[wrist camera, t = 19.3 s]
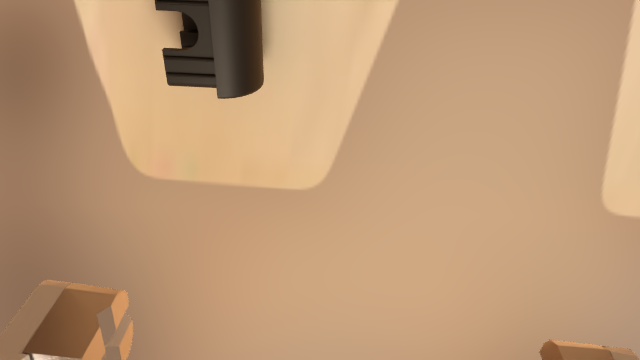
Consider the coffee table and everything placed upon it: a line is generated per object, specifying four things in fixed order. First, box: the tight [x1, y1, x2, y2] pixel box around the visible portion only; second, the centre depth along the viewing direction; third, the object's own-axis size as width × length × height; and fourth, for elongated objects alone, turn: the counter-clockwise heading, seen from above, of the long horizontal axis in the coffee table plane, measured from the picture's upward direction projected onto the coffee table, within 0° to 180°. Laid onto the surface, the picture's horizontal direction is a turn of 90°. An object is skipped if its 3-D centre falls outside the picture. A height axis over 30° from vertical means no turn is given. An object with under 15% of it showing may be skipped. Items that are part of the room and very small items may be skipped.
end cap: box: [155, 0, 264, 99], centre depth 39 cm, size 10×7×7 cm
